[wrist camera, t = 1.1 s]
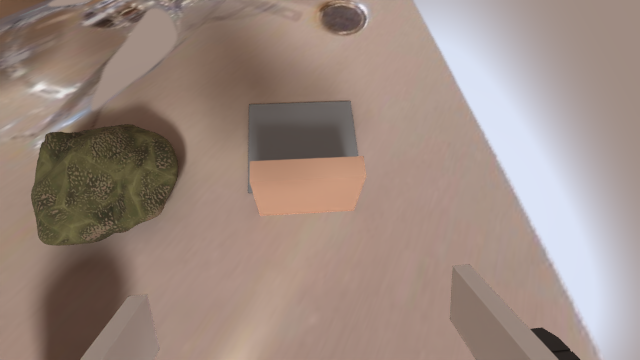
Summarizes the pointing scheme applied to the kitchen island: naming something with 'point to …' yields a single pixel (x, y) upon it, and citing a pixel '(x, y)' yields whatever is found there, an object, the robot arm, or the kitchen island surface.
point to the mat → (300, 131)
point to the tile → (307, 184)
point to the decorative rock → (100, 182)
